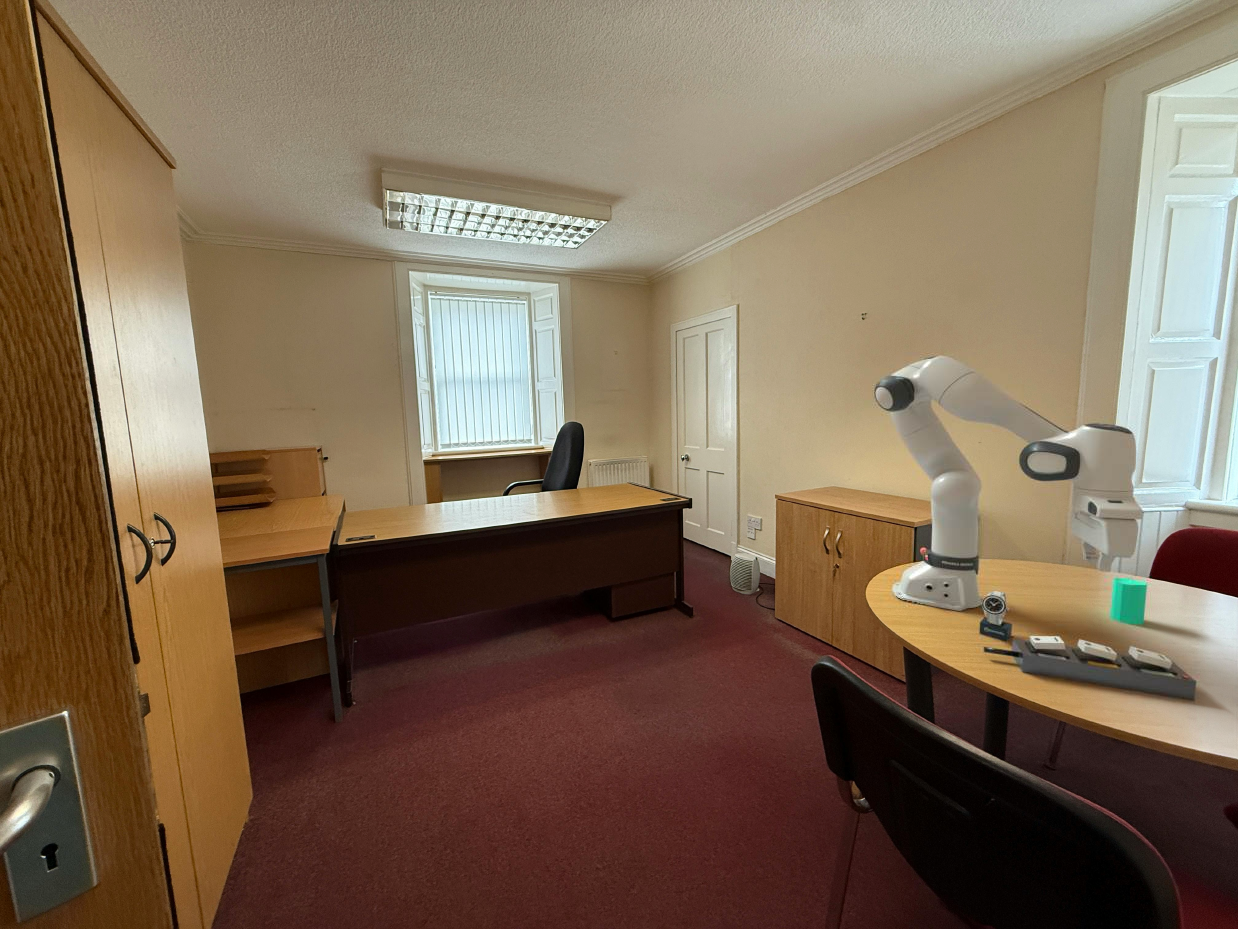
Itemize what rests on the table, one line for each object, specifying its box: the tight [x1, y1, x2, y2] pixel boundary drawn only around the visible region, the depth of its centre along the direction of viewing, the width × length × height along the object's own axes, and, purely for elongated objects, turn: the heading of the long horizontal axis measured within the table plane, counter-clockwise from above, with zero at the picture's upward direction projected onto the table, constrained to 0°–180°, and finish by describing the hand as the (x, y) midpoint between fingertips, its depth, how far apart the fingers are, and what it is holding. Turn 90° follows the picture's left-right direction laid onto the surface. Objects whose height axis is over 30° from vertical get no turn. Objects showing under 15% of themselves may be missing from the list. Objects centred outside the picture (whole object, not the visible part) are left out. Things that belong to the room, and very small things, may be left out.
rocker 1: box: [1029, 635, 1066, 649], centre depth 104 cm, size 5×3×2 cm, turn 63°
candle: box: [1109, 574, 1148, 626], centre depth 124 cm, size 6×6×12 cm
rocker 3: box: [1128, 645, 1172, 669], centre depth 97 cm, size 5×3×2 cm, turn 63°
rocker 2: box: [1077, 638, 1117, 660], centre depth 100 cm, size 5×3×2 cm, turn 63°
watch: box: [978, 590, 1013, 642], centre depth 119 cm, size 6×8×11 cm
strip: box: [983, 637, 1197, 702], centre depth 102 cm, size 32×8×4 cm, turn 63°
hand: (1096, 565), depth 101 cm, fingers open, 5 cm apart
